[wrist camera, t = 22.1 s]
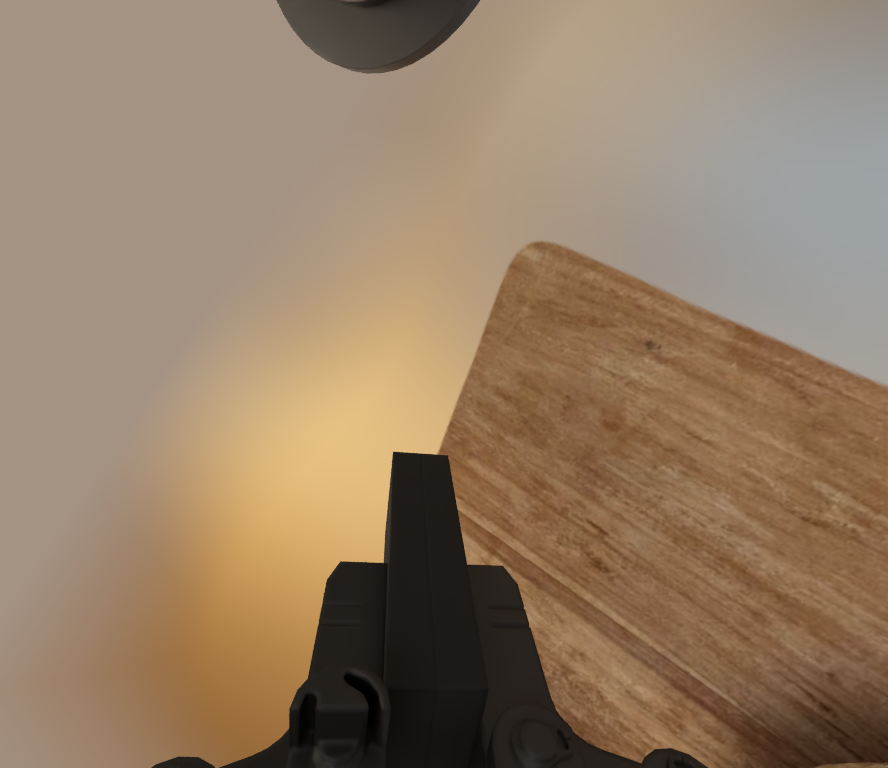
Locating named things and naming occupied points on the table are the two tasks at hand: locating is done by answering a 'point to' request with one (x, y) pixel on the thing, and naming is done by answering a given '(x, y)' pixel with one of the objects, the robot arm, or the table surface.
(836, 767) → the bowl
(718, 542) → the table surface
